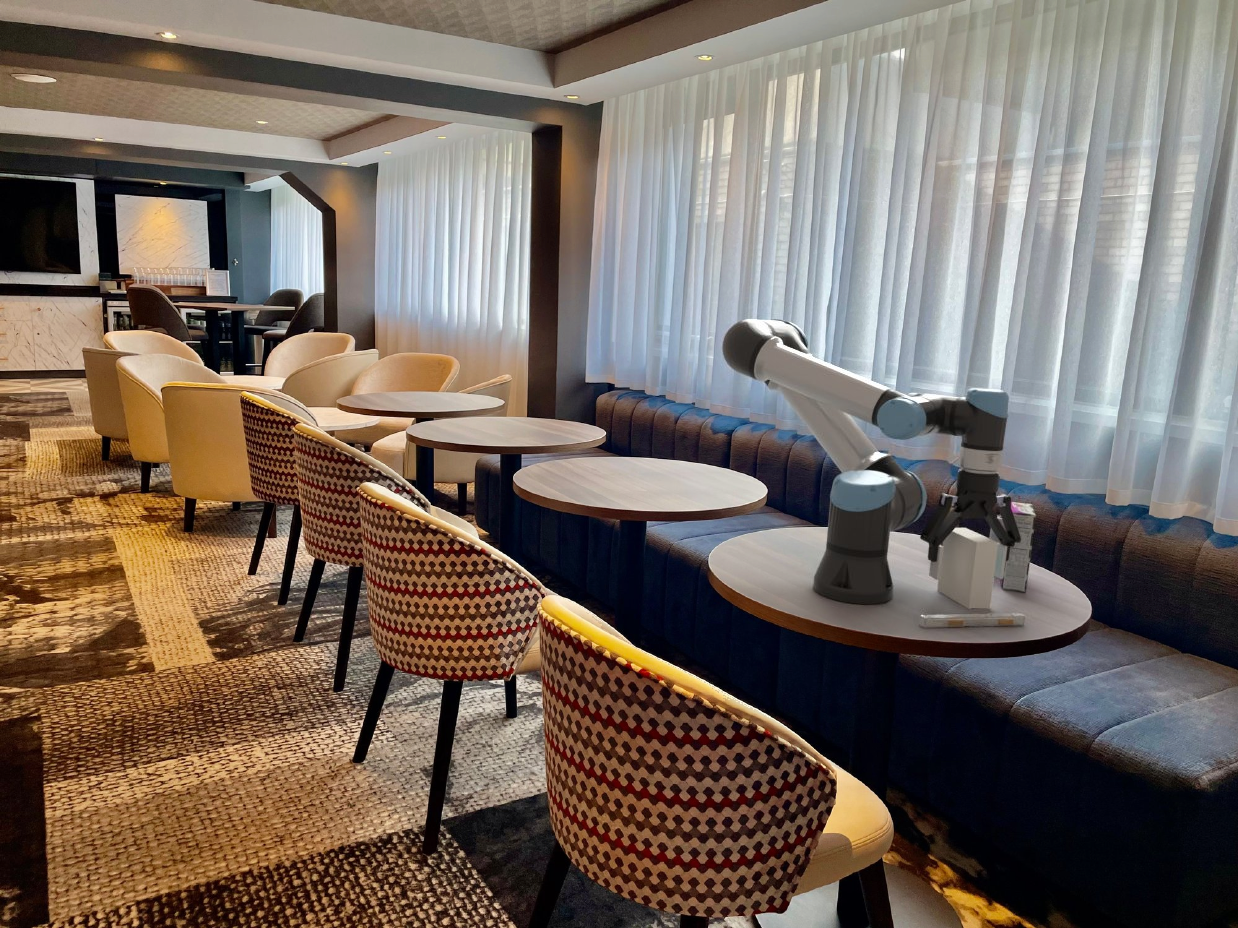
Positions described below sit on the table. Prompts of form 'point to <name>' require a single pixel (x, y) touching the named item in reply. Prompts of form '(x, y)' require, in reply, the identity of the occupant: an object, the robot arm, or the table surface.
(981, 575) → the carton box
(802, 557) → the table surface
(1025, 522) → the candy bar box
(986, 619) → the rail
